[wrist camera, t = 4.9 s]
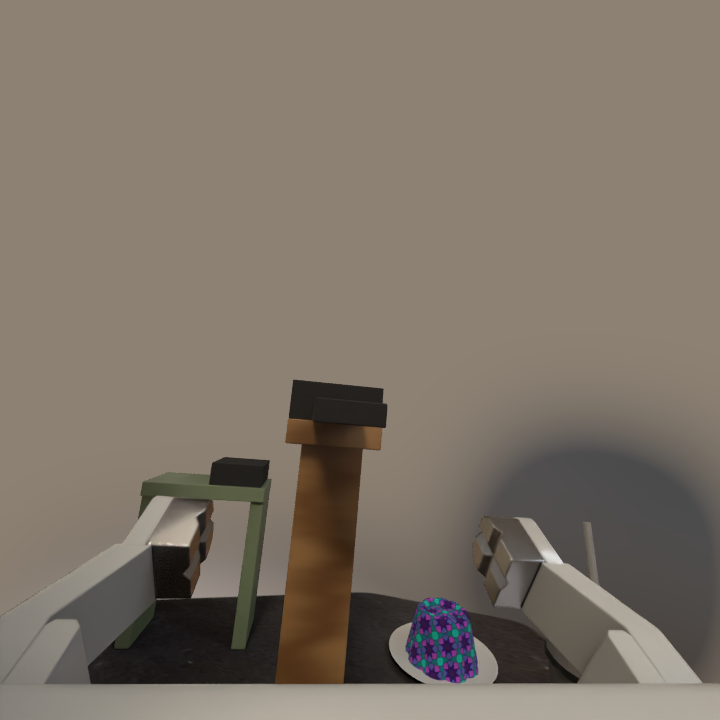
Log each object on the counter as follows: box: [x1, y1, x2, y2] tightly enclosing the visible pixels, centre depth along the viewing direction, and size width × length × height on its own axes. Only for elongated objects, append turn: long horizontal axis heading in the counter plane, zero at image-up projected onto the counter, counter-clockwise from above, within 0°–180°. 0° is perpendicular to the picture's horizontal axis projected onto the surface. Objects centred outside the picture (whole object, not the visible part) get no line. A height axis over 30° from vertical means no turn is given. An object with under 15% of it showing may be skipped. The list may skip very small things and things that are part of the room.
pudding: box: [389, 598, 498, 684], centre depth 40 cm, size 12×12×5 cm
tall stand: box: [275, 419, 382, 684], centre depth 23 cm, size 6×7×26 cm
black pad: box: [289, 380, 387, 428], centre depth 21 cm, size 6×14×2 cm, turn 8°
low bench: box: [114, 472, 271, 649], centre depth 42 cm, size 14×7×17 cm, turn 98°
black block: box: [209, 457, 270, 488], centre depth 44 cm, size 6×6×2 cm
